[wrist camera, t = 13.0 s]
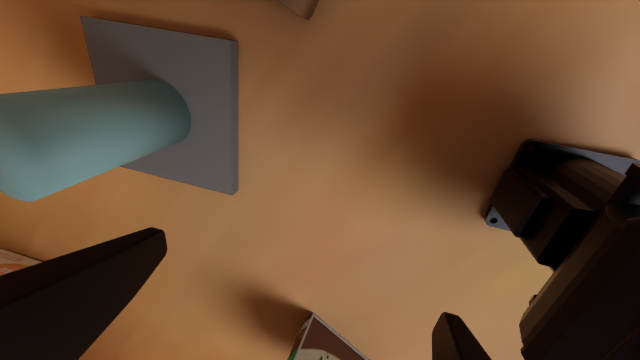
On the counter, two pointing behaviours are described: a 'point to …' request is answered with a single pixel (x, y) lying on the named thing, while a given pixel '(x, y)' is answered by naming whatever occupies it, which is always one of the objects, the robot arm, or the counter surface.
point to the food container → (322, 343)
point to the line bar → (300, 7)
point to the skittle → (83, 132)
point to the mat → (191, 82)
